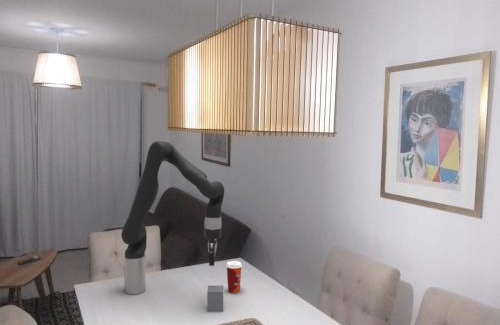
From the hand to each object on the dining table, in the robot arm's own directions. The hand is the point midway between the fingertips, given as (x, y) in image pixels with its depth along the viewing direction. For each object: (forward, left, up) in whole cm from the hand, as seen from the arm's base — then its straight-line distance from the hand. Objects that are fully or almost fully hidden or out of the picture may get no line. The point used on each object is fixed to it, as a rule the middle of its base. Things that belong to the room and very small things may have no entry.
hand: (212, 262), depth 176 cm
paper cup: (-1, +17, -19) cm, 26 cm away
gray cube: (+4, -2, -19) cm, 20 cm away
